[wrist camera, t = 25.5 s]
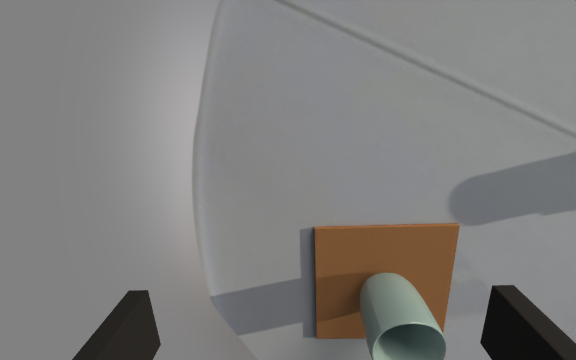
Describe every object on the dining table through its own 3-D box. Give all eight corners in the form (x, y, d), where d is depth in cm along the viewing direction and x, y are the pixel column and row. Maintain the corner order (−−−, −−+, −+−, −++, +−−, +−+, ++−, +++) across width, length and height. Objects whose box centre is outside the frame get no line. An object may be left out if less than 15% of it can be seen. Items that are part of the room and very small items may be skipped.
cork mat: (316, 335, 43) (316, 338, 43) (314, 226, 38) (314, 228, 37) (440, 334, 42) (442, 338, 42) (457, 223, 37) (459, 225, 36)
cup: (353, 311, 41) (370, 380, 31) (353, 264, 38) (370, 323, 29) (410, 309, 40) (444, 378, 31) (413, 261, 38) (451, 320, 28)
